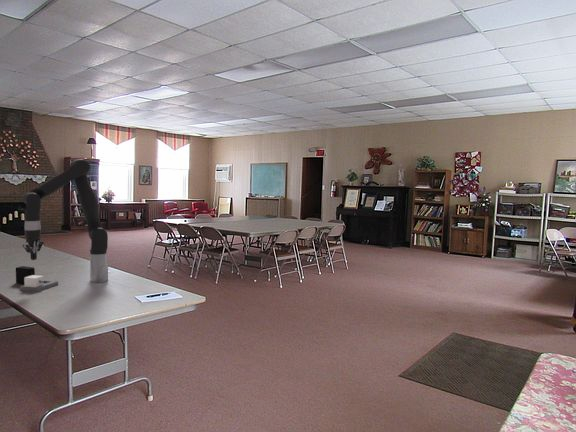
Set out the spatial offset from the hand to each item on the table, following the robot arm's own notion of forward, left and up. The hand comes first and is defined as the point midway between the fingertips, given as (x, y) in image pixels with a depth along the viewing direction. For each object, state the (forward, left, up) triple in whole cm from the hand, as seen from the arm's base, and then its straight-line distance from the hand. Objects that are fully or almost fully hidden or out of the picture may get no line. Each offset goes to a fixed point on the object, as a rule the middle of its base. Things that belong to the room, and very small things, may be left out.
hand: (33, 259), depth 228 cm
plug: (0, 0, -17) cm, 17 cm away
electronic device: (+14, -9, -17) cm, 24 cm away
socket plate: (0, -4, -17) cm, 18 cm away
